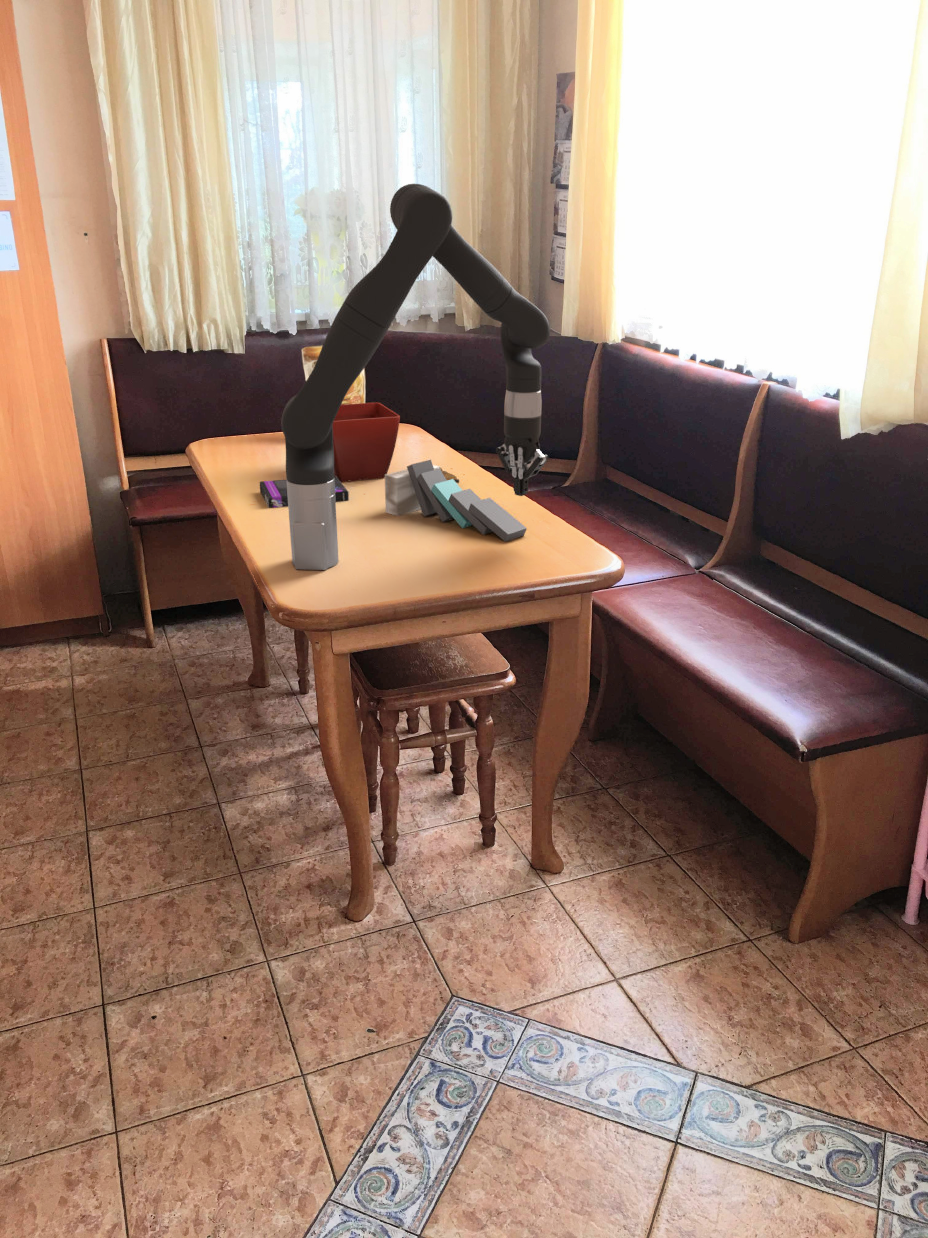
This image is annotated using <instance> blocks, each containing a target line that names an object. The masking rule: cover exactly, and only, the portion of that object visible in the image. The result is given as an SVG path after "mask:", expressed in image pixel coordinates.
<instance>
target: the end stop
mask: <svg viewBox="0 0 928 1238" xmlns="http://www.w3.org/2000/svg"><path fill="white" fill-rule="evenodd" d="M432 465H433V467H434V470H436V469H440V467H441V466H439V465H435V464H432ZM384 496H385V513H386V514H389V515H393V516H396V517H399V516H402V515H406V514H410V513H412V512H416V511H420V510H421V508H420V505H419V502H418V499H417V496H416V493H415V490H414V487H413V484H412V481H411V478H410V475H409V472H408V469H407V468H406V469H402V470H398V471H395V472H390V473H387V474H386V475H385V478H384Z"/></svg>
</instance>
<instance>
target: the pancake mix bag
mask: <svg viewBox="0 0 928 1238" xmlns="http://www.w3.org/2000/svg"><path fill="white" fill-rule="evenodd" d="M322 346H323V345H311V346H310V345H309V346H305V347H303V348H301V350H300V352H301V360H302V369H303V372H304V378H305V379H304V380H305V382H306V381H307V379H308V378H309V376H310V374H311V372H312V371H313V369H314V367H315V364H316V362H317V359H318V357H319V354H320V351H321V349H322ZM365 369H366V368H364V369H363V370H362V372H361V373H360V375H359V376H358V377H357V379H356V380H355V381H354V383H353V384H352V386H351V387H350V388H349V390H348V392H347V394H346V395H345V397H344V399H343V401H342V404H341V405H343V404H359V403H366V390H367V389H366V384H367V383H366V371H365Z"/></svg>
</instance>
